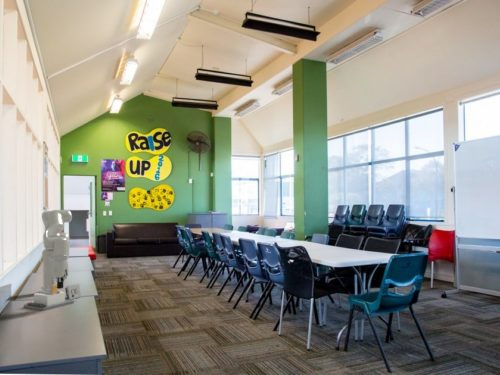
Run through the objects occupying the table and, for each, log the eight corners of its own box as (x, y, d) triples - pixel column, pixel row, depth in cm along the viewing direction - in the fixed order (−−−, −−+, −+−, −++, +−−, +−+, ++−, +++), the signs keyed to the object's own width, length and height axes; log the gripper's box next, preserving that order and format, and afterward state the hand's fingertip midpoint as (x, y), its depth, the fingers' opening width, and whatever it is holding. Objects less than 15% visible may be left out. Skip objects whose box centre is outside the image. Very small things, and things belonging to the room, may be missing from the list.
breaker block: (23, 307, 247) (23, 292, 247) (54, 299, 266) (54, 286, 266) (43, 310, 238) (43, 295, 238) (74, 303, 257) (74, 289, 257)
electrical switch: (69, 300, 265) (69, 285, 265) (64, 300, 267) (63, 286, 268) (81, 297, 273) (81, 283, 274) (76, 297, 275) (75, 283, 276)
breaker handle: (51, 293, 249) (51, 285, 249) (55, 292, 252) (55, 284, 252) (53, 293, 248) (53, 285, 248) (57, 293, 251) (57, 284, 251)
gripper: (47, 258, 249) (46, 288, 248) (63, 259, 242) (62, 290, 241) (57, 256, 255) (57, 286, 254) (73, 258, 248) (73, 288, 247)
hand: (60, 288), depth 248 cm, fingers closed
